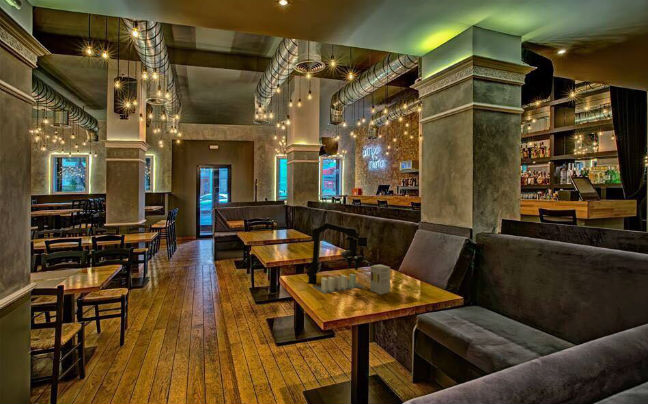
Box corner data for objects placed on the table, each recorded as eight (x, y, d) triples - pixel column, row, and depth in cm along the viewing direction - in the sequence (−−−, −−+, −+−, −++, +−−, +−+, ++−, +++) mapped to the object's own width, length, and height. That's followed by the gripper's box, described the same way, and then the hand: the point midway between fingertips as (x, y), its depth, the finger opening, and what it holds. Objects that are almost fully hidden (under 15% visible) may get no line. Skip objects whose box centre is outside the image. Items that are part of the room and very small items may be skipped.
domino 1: (321, 290, 227) (321, 278, 227) (324, 289, 228) (324, 277, 228) (325, 292, 223) (325, 279, 223) (327, 291, 224) (327, 279, 224)
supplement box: (369, 291, 228) (369, 265, 227) (379, 288, 233) (379, 263, 232) (380, 294, 220) (380, 268, 219) (390, 292, 225) (390, 266, 225)
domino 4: (340, 286, 235) (340, 275, 234) (343, 286, 236) (343, 274, 235) (344, 288, 230) (344, 276, 230) (347, 288, 231) (347, 276, 231)
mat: (311, 287, 236) (311, 286, 236) (350, 281, 251) (350, 280, 251) (324, 294, 220) (324, 293, 220) (365, 287, 236) (365, 286, 236)
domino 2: (328, 289, 230) (328, 277, 229) (330, 288, 231) (330, 276, 230) (331, 291, 225) (331, 278, 225) (334, 290, 226) (334, 278, 226)
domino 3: (334, 287, 232) (334, 276, 232) (336, 287, 233) (337, 275, 233) (338, 289, 228) (338, 277, 228) (340, 289, 229) (341, 277, 228)
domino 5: (349, 285, 238) (349, 273, 238) (351, 285, 239) (351, 273, 239) (353, 287, 234) (353, 275, 233) (355, 286, 235) (356, 275, 234)
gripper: (335, 245, 239) (335, 267, 240) (350, 249, 223) (350, 273, 224) (349, 243, 245) (349, 265, 245) (364, 248, 228) (364, 271, 229)
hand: (352, 269), depth 236 cm, fingers open, 7 cm apart
